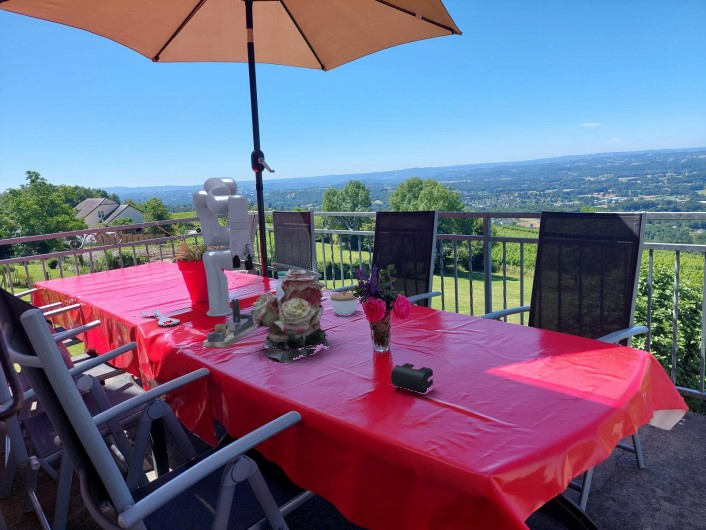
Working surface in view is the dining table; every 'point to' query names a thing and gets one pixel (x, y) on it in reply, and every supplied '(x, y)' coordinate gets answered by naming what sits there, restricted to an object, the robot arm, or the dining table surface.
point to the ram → (235, 317)
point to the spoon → (162, 318)
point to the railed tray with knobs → (230, 334)
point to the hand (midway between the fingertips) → (242, 269)
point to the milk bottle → (278, 287)
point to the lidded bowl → (344, 303)
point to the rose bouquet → (292, 316)
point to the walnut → (221, 329)
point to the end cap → (411, 377)
